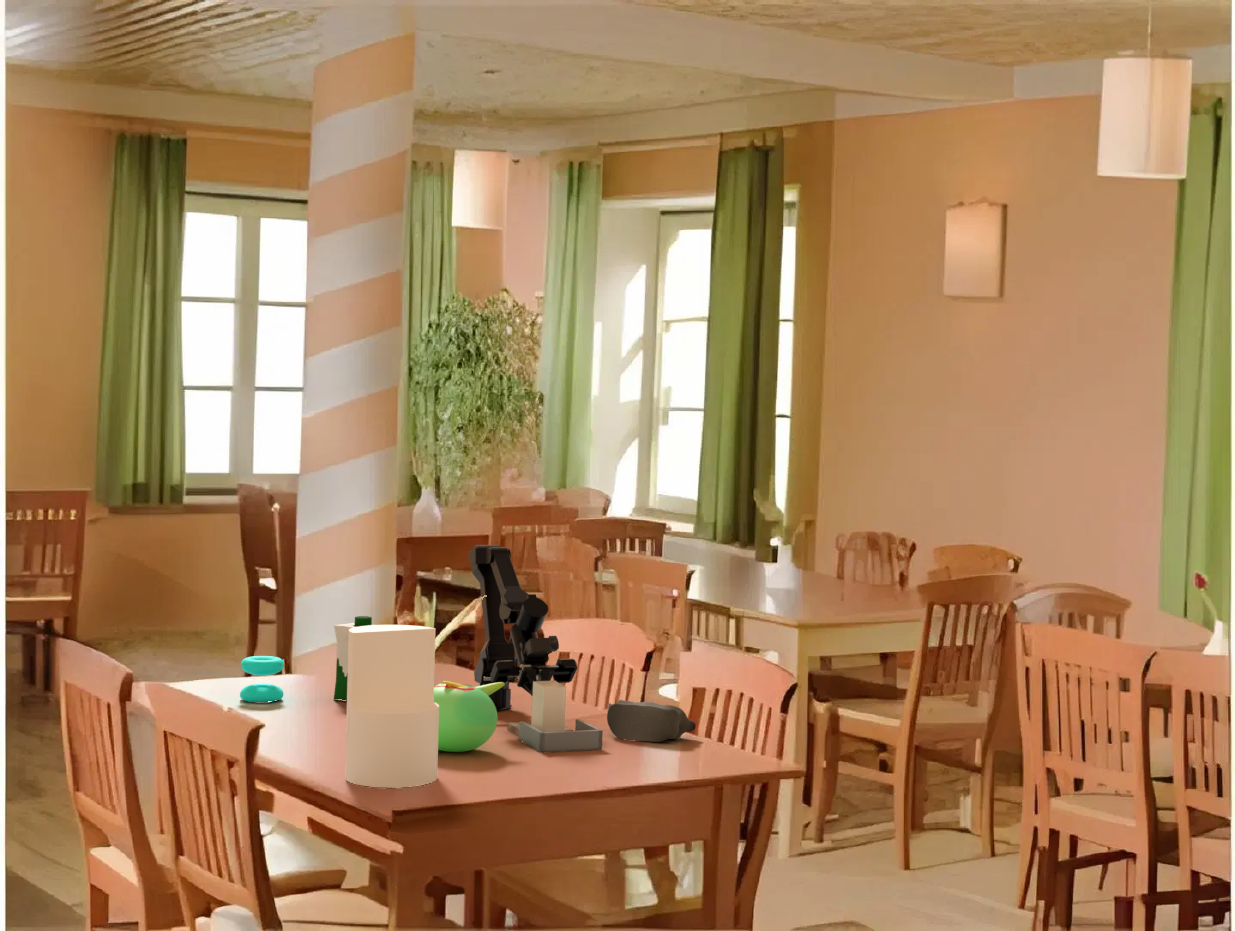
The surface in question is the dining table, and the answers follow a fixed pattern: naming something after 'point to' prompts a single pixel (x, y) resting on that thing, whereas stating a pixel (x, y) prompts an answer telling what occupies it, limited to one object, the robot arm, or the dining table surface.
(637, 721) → the dark grey bottle
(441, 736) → the green rounded body
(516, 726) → the board
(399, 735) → the cylinder
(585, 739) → the tray
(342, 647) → the milk carton
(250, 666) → the donuts
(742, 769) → the dining table surface
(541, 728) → the cream rectangular block
